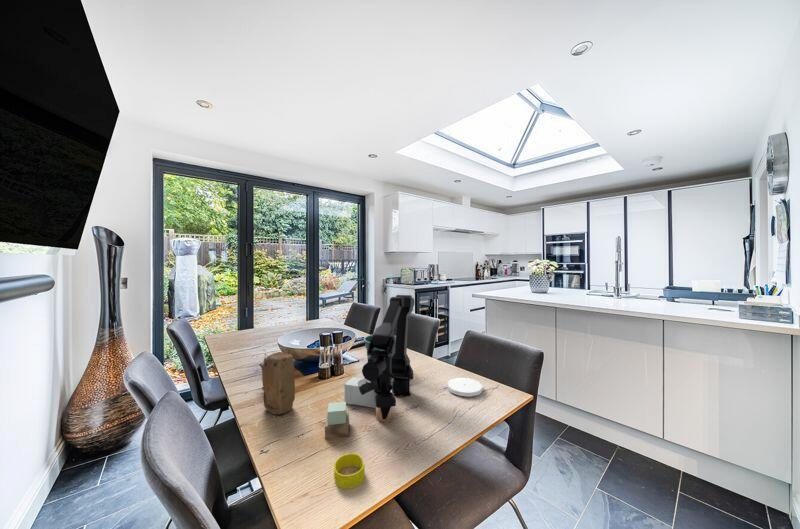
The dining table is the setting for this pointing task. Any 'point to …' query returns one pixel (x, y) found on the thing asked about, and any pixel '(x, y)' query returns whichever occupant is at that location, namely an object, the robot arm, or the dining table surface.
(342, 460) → the bracelet
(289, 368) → the block
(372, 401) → the supplement box
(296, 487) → the dining table surface
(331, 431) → the bottom block
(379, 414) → the brown oval piece
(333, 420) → the top block
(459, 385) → the plastic lid
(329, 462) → the dining table surface
